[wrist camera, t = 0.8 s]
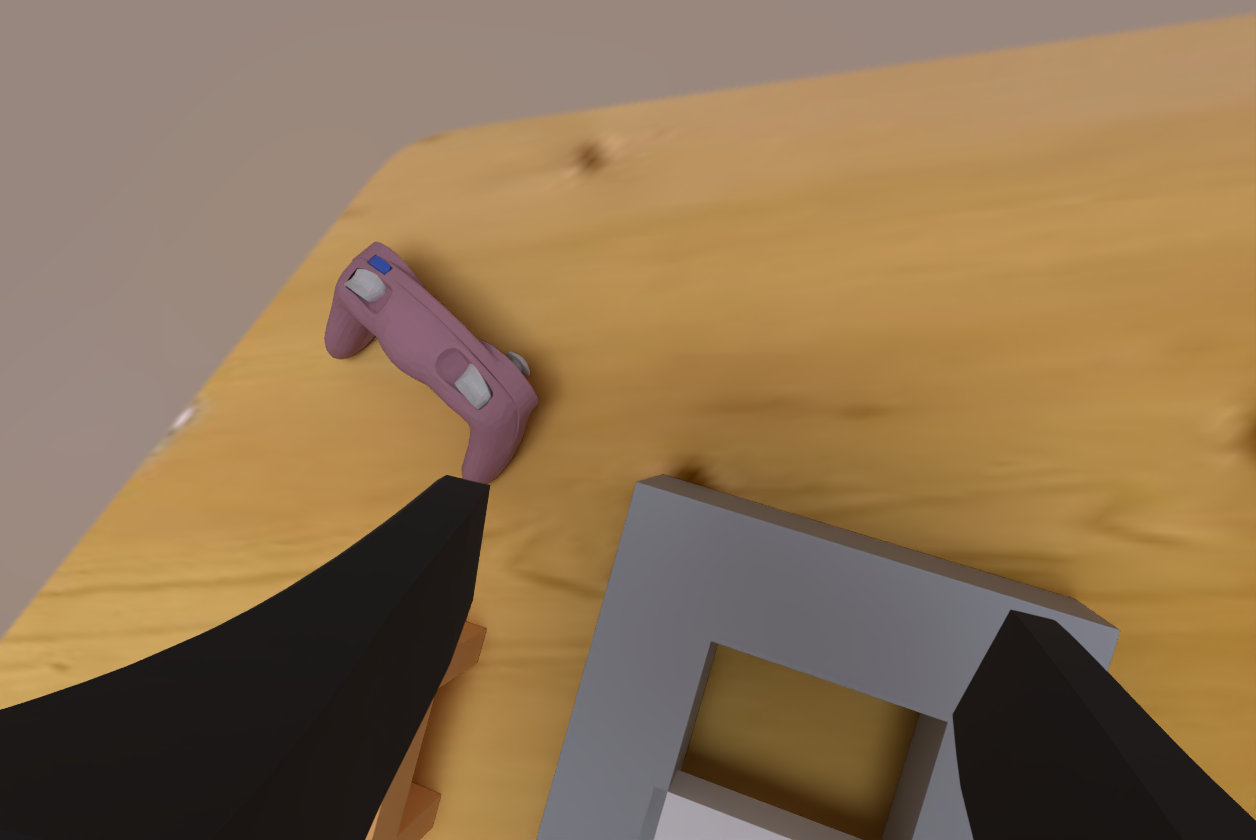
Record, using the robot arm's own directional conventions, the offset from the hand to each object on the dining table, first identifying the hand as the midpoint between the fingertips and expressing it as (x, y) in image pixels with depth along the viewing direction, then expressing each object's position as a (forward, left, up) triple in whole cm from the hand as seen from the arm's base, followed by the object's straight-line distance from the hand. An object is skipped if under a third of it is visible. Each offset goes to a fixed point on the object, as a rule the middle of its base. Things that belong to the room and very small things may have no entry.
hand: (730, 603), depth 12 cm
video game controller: (+1, +15, -23) cm, 28 cm away
